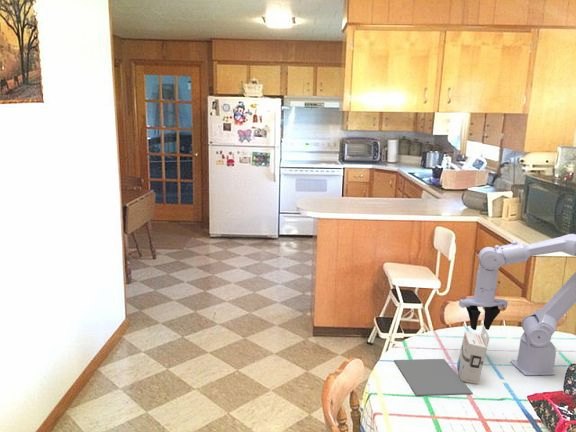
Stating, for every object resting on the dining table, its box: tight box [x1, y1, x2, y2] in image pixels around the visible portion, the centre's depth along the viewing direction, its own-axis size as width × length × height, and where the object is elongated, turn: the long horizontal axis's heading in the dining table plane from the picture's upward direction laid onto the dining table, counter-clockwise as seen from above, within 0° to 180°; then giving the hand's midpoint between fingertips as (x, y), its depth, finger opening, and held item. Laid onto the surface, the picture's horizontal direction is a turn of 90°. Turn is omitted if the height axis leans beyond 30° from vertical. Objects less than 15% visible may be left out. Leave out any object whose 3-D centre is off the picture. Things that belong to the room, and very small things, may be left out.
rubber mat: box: [393, 358, 474, 397], centre depth 134 cm, size 16×18×1 cm
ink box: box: [456, 324, 490, 385], centre depth 134 cm, size 9×5×15 cm, turn 168°
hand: (479, 328), depth 143 cm, fingers open, 4 cm apart
